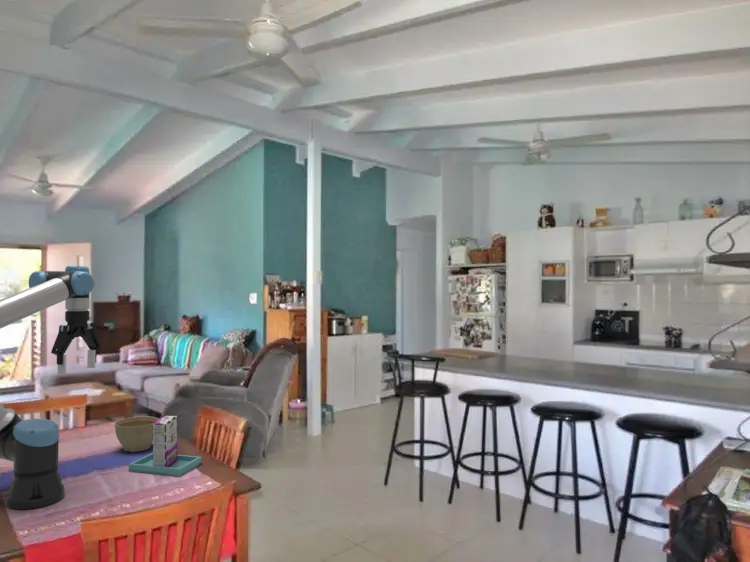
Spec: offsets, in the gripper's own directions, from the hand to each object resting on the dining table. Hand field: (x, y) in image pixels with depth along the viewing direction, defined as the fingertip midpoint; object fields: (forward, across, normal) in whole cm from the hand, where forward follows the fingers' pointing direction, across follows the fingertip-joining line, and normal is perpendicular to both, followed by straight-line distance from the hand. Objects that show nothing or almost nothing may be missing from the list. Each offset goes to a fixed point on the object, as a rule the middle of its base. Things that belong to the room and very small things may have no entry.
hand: (77, 371), depth 197 cm
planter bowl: (+35, -27, +4) cm, 44 cm away
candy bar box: (+34, -11, +28) cm, 45 cm away
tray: (+35, -11, +28) cm, 46 cm away
